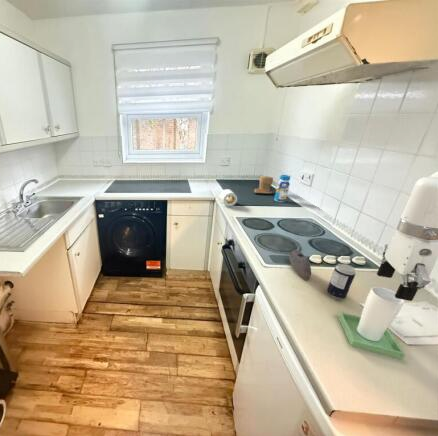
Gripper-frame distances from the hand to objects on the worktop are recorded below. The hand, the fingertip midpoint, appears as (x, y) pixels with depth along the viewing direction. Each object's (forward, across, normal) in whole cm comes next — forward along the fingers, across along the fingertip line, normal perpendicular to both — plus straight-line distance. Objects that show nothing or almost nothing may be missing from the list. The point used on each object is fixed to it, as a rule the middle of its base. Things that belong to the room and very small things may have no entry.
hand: (392, 286), depth 63 cm
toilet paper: (+18, +109, +49) cm, 121 cm away
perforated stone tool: (+18, +29, +14) cm, 37 cm away
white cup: (+18, 0, +1) cm, 18 cm away
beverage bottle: (+19, +132, +11) cm, 134 cm away
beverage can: (+18, +18, +4) cm, 26 cm away
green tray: (+18, 0, +1) cm, 18 cm away
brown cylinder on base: (+19, +150, +23) cm, 153 cm away
